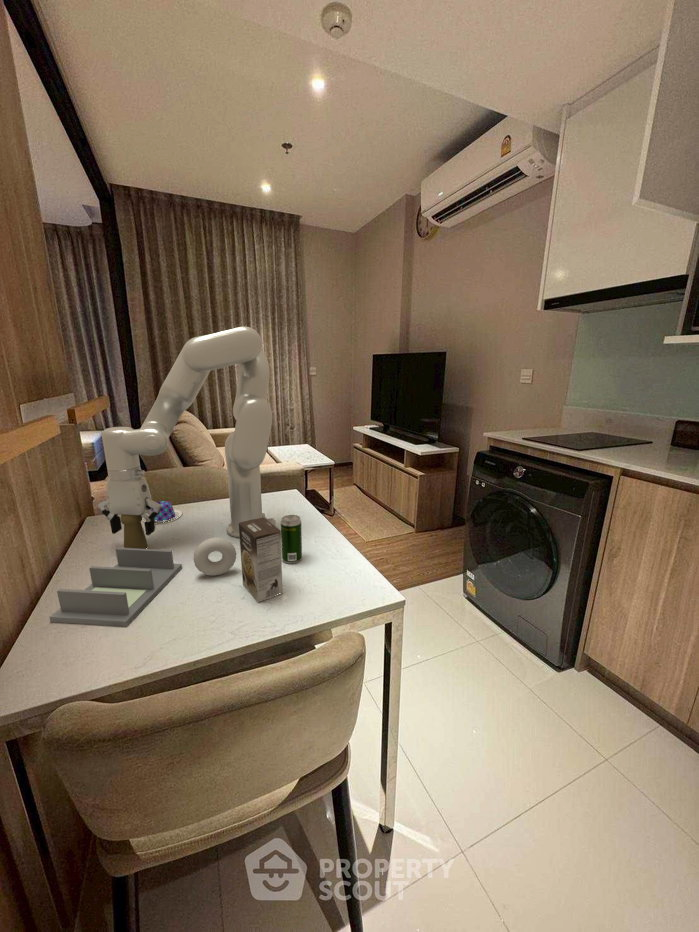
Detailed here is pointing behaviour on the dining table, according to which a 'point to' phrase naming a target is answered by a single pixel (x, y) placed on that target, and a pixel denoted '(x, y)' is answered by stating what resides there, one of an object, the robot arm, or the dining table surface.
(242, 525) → the coffee box
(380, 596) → the dining table surface
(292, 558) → the beer can
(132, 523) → the brown gourd-shaped form
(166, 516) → the purple patterned dome
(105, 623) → the rack
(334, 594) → the dining table surface
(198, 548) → the donut
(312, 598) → the dining table surface
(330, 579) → the dining table surface
